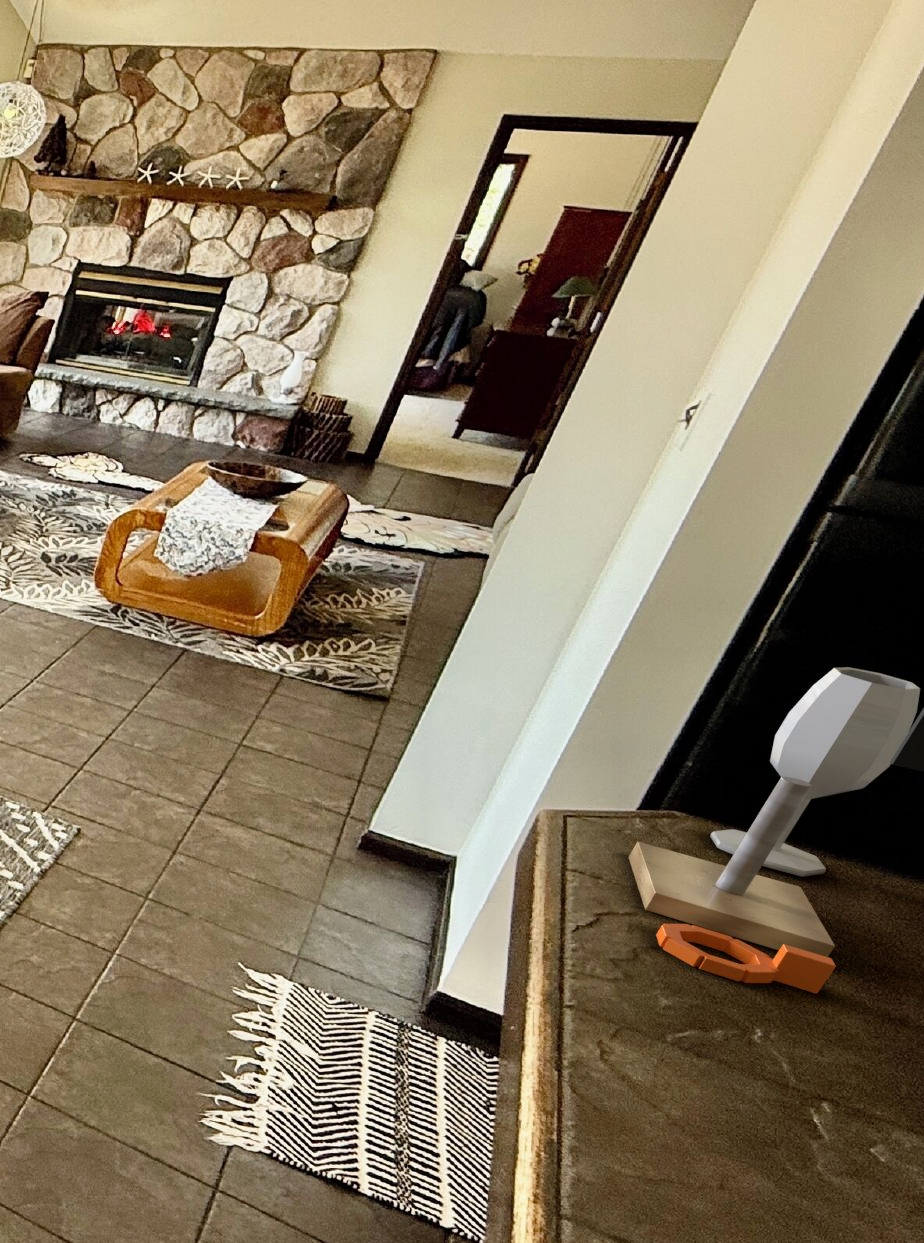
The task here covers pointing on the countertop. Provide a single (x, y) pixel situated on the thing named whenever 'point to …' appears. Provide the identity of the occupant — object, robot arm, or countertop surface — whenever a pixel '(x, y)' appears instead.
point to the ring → (746, 958)
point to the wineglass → (835, 747)
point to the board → (724, 909)
